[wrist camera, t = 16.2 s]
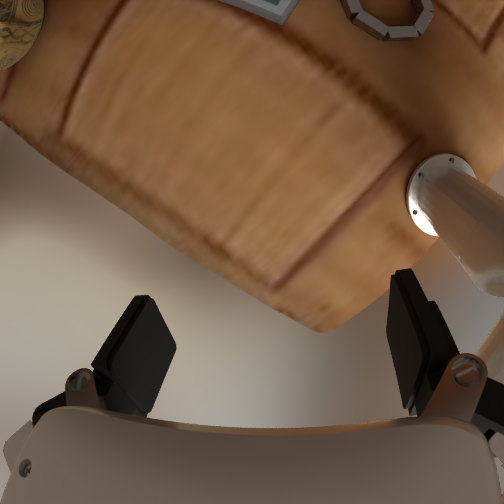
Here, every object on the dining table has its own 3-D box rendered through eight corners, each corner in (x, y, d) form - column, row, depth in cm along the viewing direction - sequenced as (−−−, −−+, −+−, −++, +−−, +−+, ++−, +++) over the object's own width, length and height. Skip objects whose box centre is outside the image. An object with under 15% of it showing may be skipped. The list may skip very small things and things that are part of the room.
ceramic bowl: (-9, 62, 31) (-63, 73, 18) (18, -12, 22) (-36, -14, 9) (48, 79, 34) (-19, 90, 21) (85, -12, 25) (20, -27, 12)
